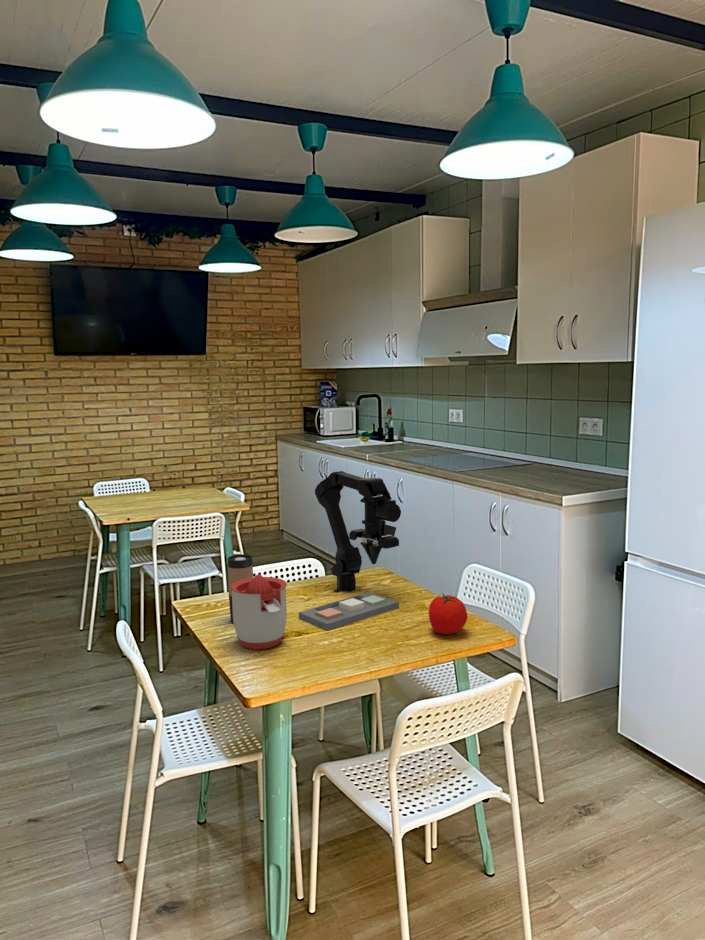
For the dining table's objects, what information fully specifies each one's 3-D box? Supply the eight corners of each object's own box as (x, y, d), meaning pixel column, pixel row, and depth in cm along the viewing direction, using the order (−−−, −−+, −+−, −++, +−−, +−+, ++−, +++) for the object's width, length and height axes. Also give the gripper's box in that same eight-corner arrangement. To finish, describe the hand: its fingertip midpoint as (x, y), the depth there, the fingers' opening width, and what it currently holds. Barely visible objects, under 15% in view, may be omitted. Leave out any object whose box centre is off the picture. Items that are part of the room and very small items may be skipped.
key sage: (360, 606, 226) (360, 598, 225) (373, 602, 229) (373, 595, 229) (372, 610, 221) (372, 603, 221) (385, 606, 225) (385, 599, 225)
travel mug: (259, 618, 220) (257, 555, 217) (246, 626, 213) (243, 561, 210) (239, 615, 223) (236, 553, 221) (224, 622, 216) (222, 559, 214)
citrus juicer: (250, 660, 188) (247, 587, 185) (224, 640, 202) (221, 572, 200) (301, 646, 196) (299, 577, 194) (273, 628, 211) (270, 563, 208)
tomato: (441, 622, 213) (441, 587, 212) (474, 631, 206) (475, 594, 205) (419, 634, 204) (419, 597, 203) (453, 643, 197) (453, 604, 196)
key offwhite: (339, 609, 220) (338, 602, 219) (352, 605, 223) (352, 598, 223) (350, 613, 215) (350, 606, 215) (364, 609, 219) (364, 602, 219)
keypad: (298, 621, 216) (298, 611, 216) (369, 600, 235) (369, 591, 235) (327, 634, 206) (327, 623, 205) (398, 610, 224) (398, 600, 224)
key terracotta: (316, 619, 214) (316, 611, 214) (330, 615, 218) (330, 607, 217) (327, 624, 210) (327, 616, 209) (342, 619, 213) (342, 612, 213)
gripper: (411, 517, 228) (411, 565, 230) (373, 509, 242) (373, 554, 244) (385, 523, 221) (386, 571, 223) (347, 514, 235) (348, 560, 237)
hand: (373, 563), depth 232 cm, fingers closed
